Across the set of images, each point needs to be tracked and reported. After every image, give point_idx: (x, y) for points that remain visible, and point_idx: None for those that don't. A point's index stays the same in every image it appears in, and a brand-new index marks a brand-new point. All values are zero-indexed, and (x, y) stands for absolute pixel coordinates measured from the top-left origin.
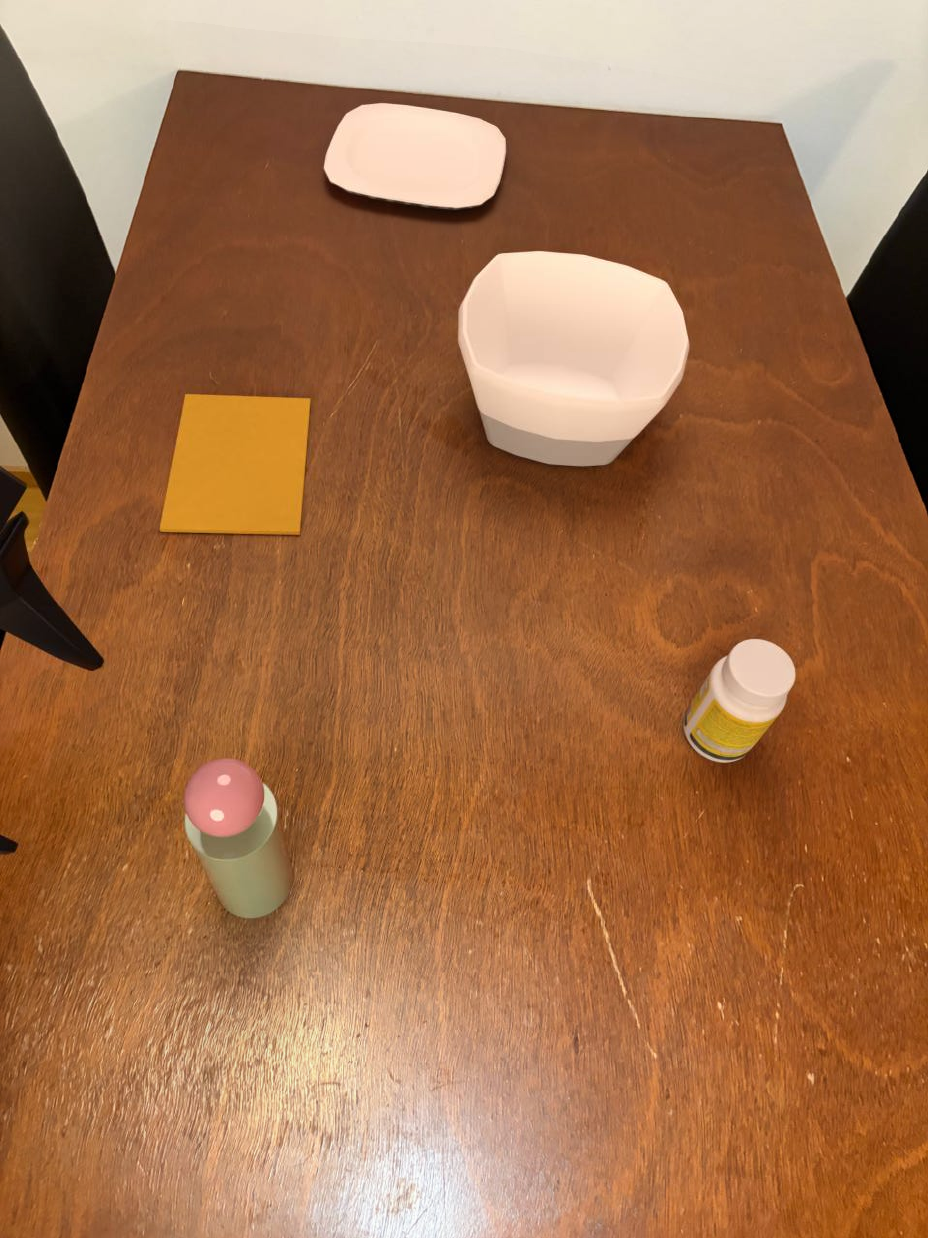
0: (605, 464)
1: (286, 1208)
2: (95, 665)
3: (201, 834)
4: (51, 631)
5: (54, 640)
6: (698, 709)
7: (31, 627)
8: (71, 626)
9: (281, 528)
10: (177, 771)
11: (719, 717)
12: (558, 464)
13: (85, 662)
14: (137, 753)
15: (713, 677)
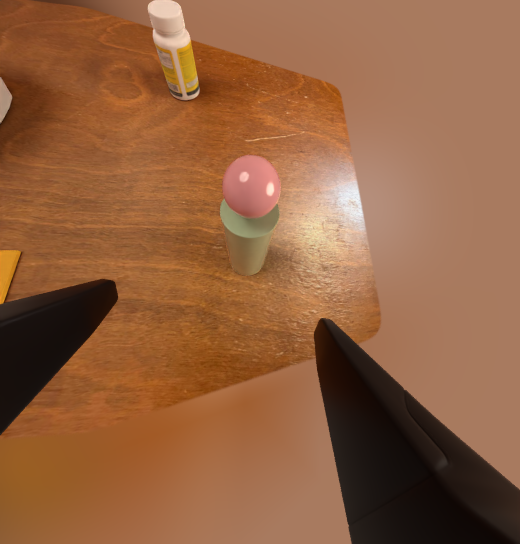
0: (11, 96)
1: (362, 238)
2: (110, 287)
3: (263, 226)
4: (26, 324)
5: (53, 327)
6: (178, 74)
7: (8, 364)
8: (27, 300)
9: (10, 261)
10: (188, 302)
11: (185, 57)
12: (3, 116)
13: (104, 297)
14: (175, 326)
15: (165, 43)
